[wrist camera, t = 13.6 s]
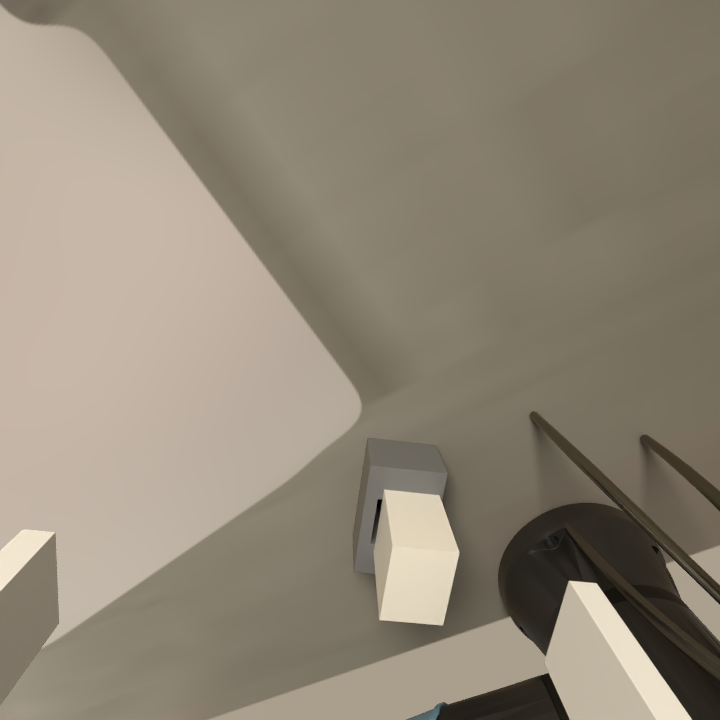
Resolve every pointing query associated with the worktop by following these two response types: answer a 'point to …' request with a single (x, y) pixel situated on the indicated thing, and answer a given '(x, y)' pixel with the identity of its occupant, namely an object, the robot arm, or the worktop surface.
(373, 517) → the socket block
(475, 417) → the worktop surface
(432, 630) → the worktop surface
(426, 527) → the plug
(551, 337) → the worktop surface
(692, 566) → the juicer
